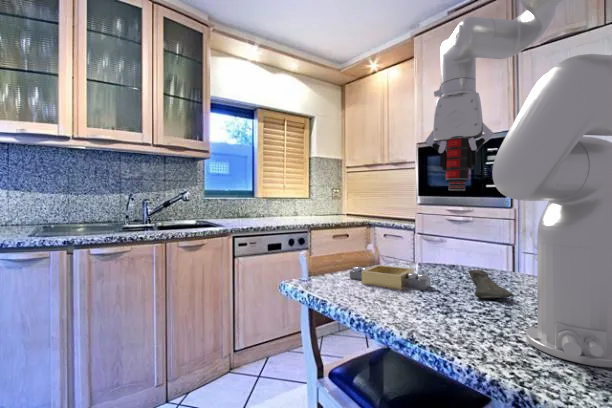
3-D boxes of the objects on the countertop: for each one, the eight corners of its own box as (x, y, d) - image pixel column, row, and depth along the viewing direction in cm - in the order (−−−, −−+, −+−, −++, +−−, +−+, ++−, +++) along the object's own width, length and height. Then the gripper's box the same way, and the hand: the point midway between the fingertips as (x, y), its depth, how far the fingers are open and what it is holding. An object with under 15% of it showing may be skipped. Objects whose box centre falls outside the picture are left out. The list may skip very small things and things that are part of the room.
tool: (516, 303, 70) (515, 289, 70) (476, 302, 72) (476, 289, 72) (487, 275, 90) (486, 264, 90) (456, 275, 92) (456, 264, 92)
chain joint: (422, 293, 77) (422, 278, 77) (344, 282, 89) (344, 269, 89) (433, 284, 86) (433, 271, 86) (361, 275, 98) (361, 263, 98)
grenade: (436, 190, 80) (438, 128, 79) (453, 191, 81) (455, 129, 80) (454, 190, 73) (456, 123, 73) (473, 190, 75) (475, 124, 74)
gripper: (416, 94, 78) (416, 170, 78) (498, 78, 69) (498, 165, 69) (424, 102, 85) (425, 173, 85) (501, 89, 75) (501, 168, 75)
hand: (458, 168), depth 77 cm, fingers closed on grenade, 4 cm apart
